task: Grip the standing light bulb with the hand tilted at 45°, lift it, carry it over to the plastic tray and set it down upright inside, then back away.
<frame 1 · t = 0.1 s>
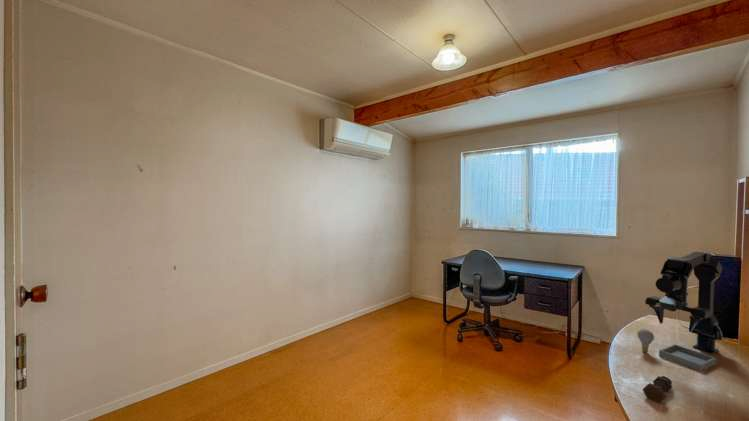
hand: (675, 327, 129), 15 cm above the table, tool pointing down, fingers open, 9 cm apart
tray: (686, 359, 132), on the table
bolt: (660, 394, 110), on the table
light bulb: (644, 352, 139), on the table
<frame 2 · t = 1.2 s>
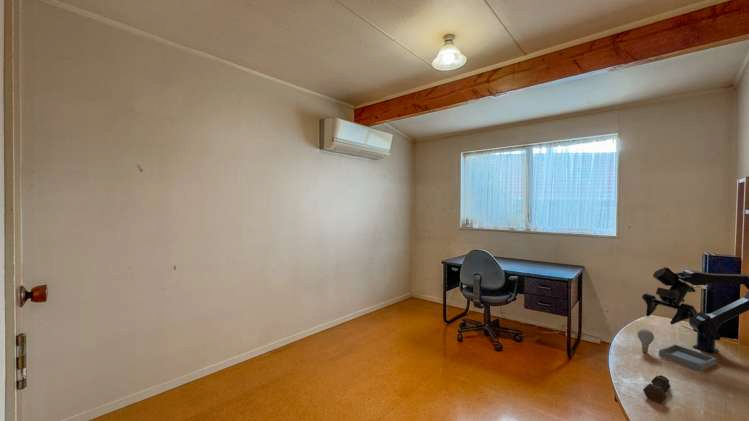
hand: (658, 319, 141), 13 cm above the table, tool tilted 45°, fingers open, 9 cm apart
nothing on the table moved.
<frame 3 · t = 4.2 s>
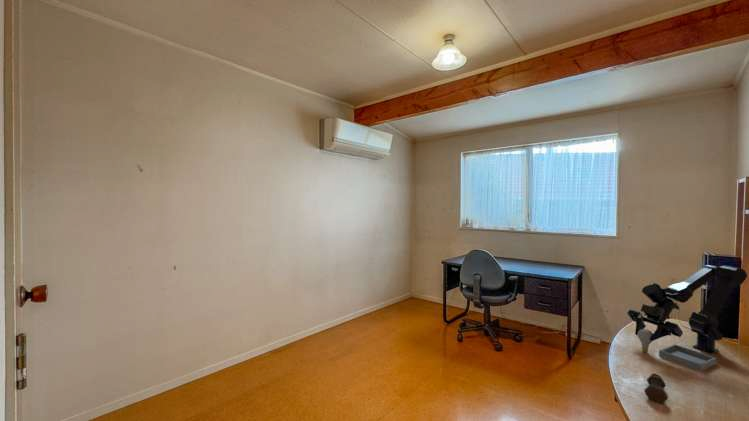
hand: (643, 337, 138), 7 cm above the table, tool tilted 45°, fingers closed on light bulb, 5 cm apart
light bulb: (644, 352, 139), on the table, touching gripper
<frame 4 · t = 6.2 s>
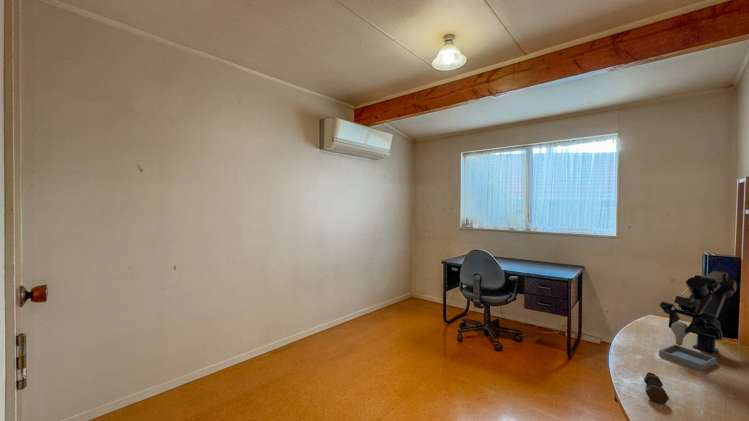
hand: (677, 330, 133), 12 cm above the table, tool tilted 45°, fingers closed on light bulb, 5 cm apart
light bulb: (679, 345, 134), point 5 cm above the table, touching gripper
when the fingers open (8 cm above the table, at t = 8.1 s): light bulb stays where it is, resting on tray.
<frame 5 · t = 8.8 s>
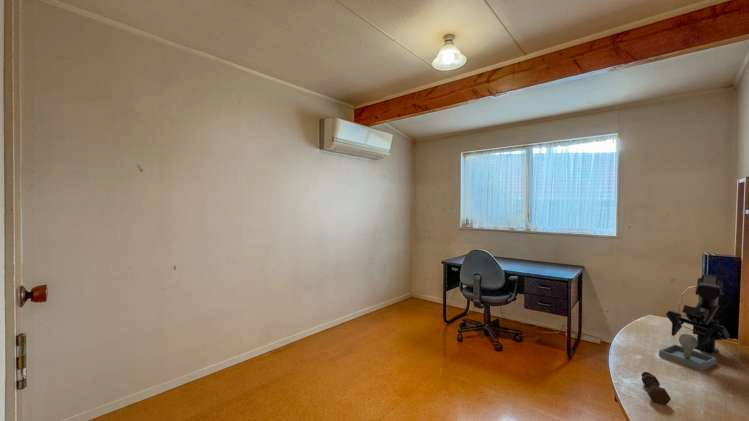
hand: (685, 340, 131), 9 cm above the table, tool tilted 45°, fingers open, 9 cm apart
light bulb: (687, 358, 132), resting on tray
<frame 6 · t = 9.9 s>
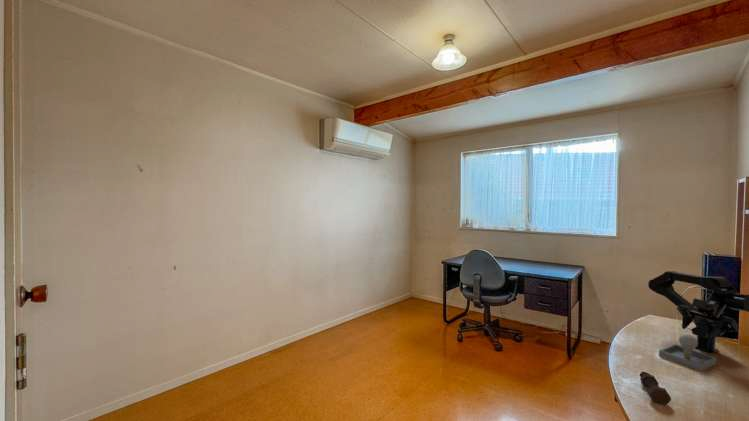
hand: (695, 332, 134), 10 cm above the table, tool tilted 45°, fingers open, 9 cm apart
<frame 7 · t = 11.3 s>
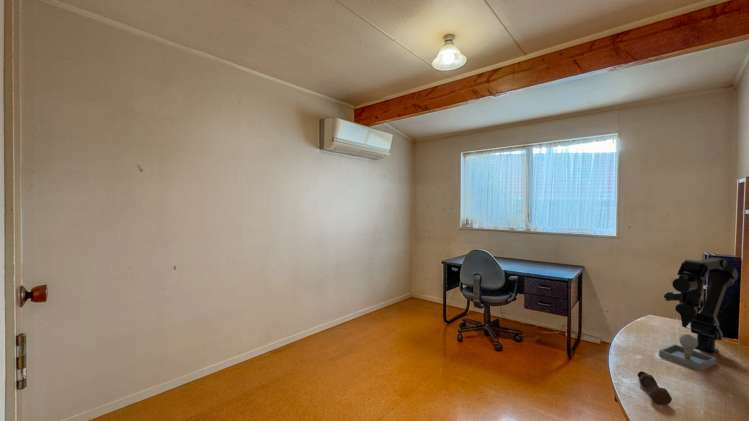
hand: (686, 324, 138), 13 cm above the table, tool pointing down, fingers open, 9 cm apart
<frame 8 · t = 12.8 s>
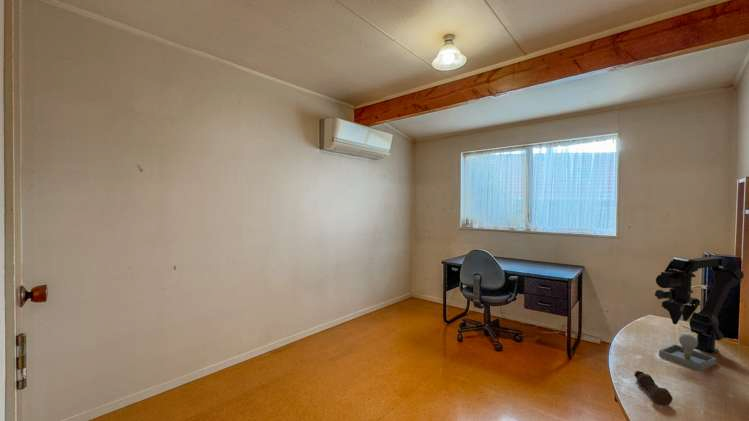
hand: (679, 322, 139), 13 cm above the table, tool pointing down, fingers open, 9 cm apart
at the end: light bulb inside the target area on the tray (0.2 cm from its centre), point 0.4 cm above the tray's base; light bulb tilted 1°; the gripper is holding nothing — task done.
